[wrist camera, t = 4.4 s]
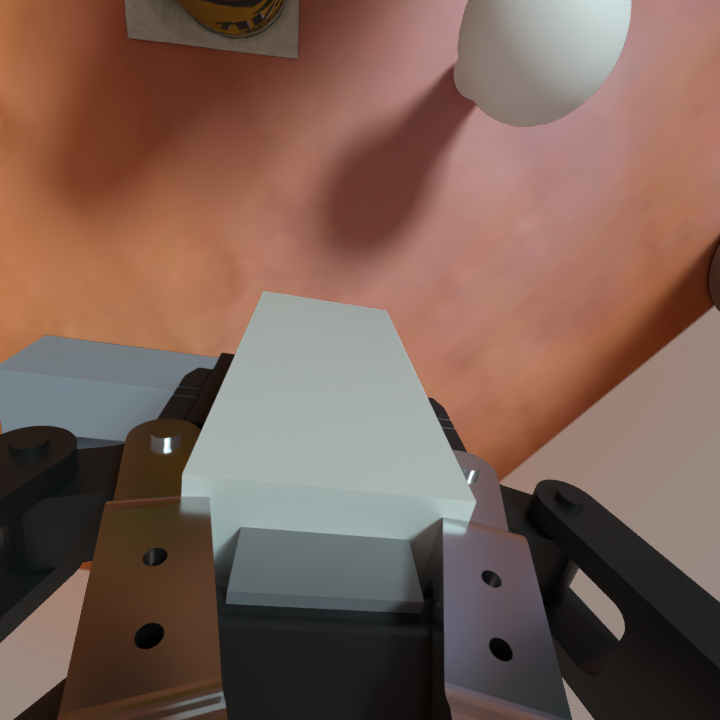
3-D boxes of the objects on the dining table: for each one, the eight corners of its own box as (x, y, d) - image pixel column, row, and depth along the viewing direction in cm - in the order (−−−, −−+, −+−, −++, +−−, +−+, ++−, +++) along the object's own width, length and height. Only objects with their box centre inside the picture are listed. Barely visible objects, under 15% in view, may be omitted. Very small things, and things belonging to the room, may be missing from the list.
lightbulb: (483, 159, 26) (589, 154, 16) (396, 99, 24) (453, 52, 14) (547, 52, 24) (713, -29, 14) (457, -21, 22) (573, -171, 12)
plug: (386, 310, 14) (504, 559, 5) (363, 414, 16) (422, 746, 7) (263, 291, 14) (155, 534, 5) (251, 401, 15) (153, 746, 6)
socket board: (327, 372, 31) (329, 409, 26) (301, 515, 36) (300, 569, 31) (45, 335, 28) (-10, 370, 23) (60, 496, 33) (17, 553, 28)
